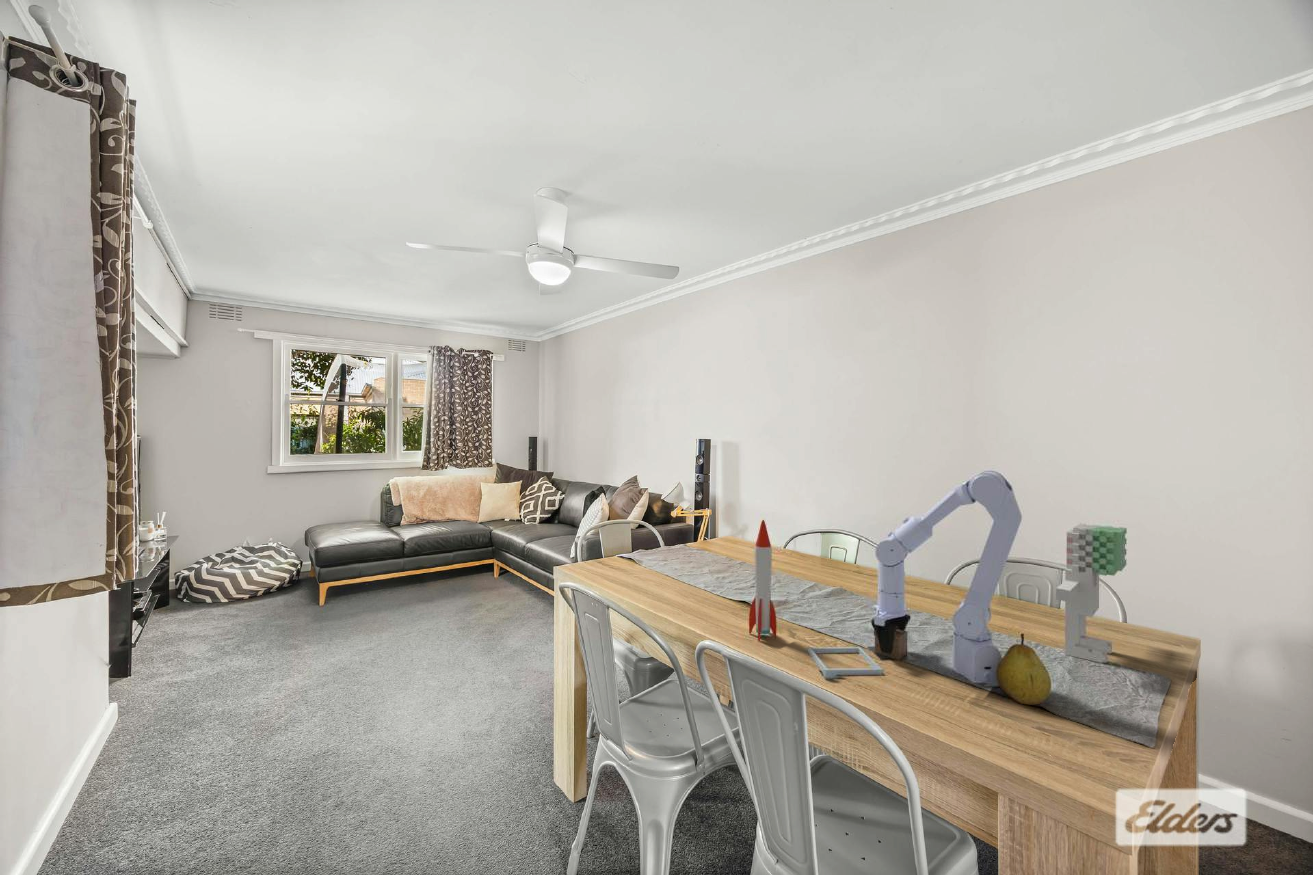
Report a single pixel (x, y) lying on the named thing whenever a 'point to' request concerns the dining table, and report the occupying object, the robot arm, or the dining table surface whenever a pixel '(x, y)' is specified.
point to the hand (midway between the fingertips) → (891, 648)
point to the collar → (894, 645)
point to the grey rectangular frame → (833, 672)
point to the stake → (881, 657)
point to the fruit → (1023, 675)
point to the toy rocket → (763, 587)
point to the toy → (1088, 584)
